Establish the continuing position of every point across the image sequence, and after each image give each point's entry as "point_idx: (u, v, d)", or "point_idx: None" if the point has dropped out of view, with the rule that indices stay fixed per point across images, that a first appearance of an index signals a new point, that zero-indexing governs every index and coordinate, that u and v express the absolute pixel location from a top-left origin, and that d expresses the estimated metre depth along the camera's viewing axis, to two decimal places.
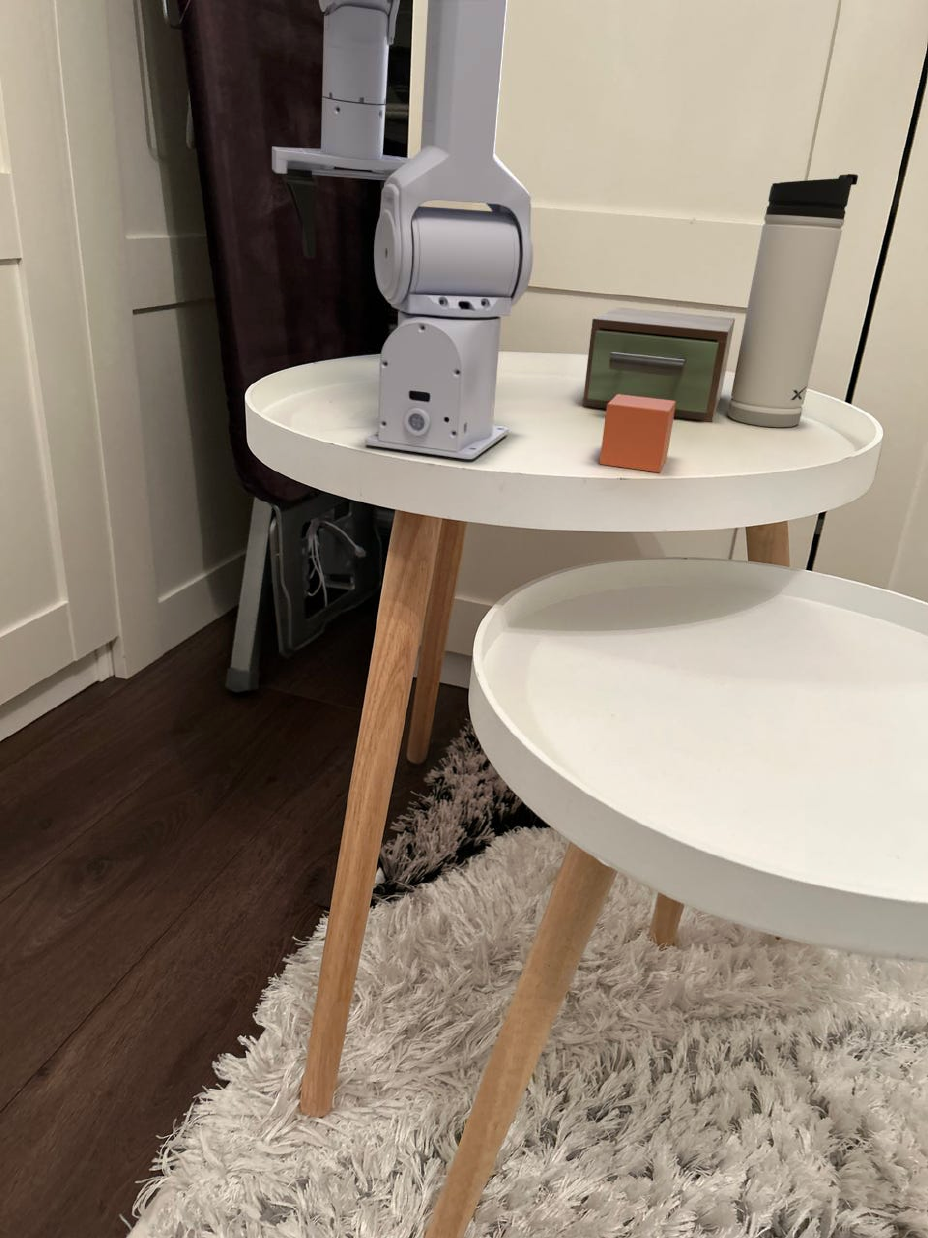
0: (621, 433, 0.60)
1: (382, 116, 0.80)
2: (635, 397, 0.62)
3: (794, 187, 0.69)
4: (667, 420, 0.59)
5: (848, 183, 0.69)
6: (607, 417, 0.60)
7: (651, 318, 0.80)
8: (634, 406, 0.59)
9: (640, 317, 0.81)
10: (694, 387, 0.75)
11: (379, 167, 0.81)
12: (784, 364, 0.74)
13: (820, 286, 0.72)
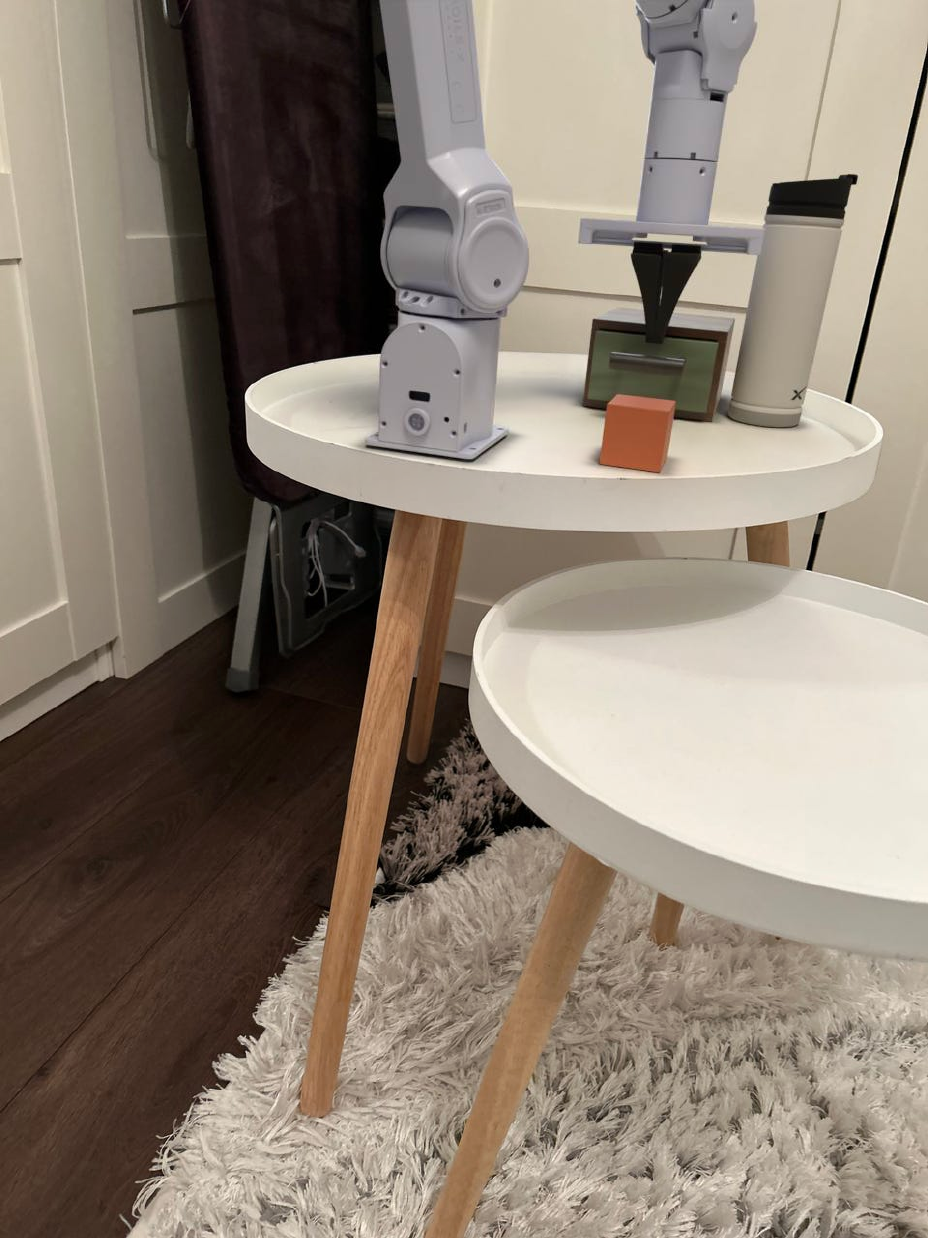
0: (621, 433, 0.60)
1: (706, 174, 0.67)
2: (635, 397, 0.62)
3: (794, 187, 0.69)
4: (667, 420, 0.59)
5: (848, 183, 0.69)
6: (607, 417, 0.60)
7: None
8: (634, 406, 0.59)
9: (640, 317, 0.81)
10: (694, 387, 0.75)
11: (693, 232, 0.68)
12: (784, 364, 0.74)
13: (820, 286, 0.72)
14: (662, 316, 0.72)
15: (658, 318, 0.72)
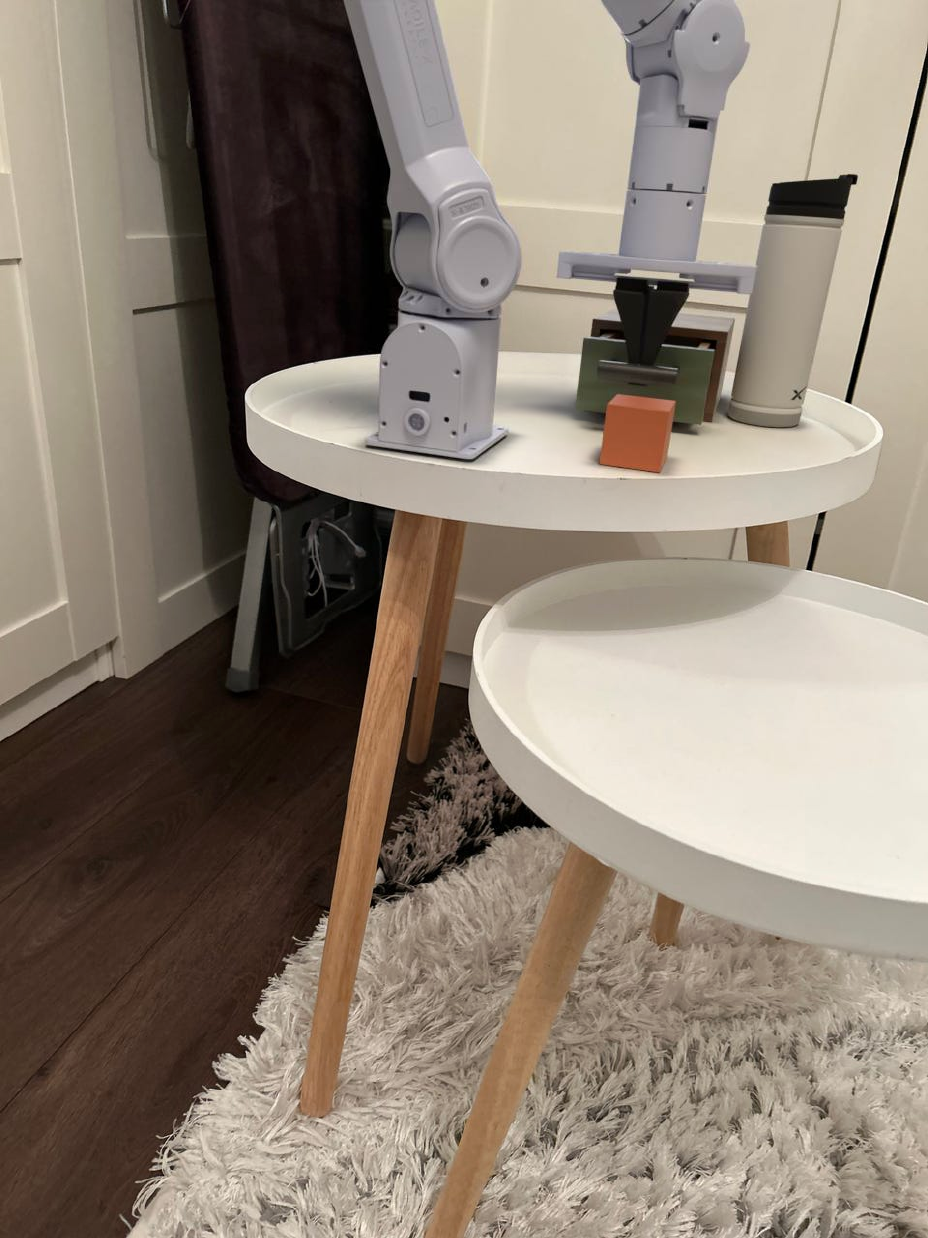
0: (621, 433, 0.60)
1: (693, 207, 0.62)
2: (635, 397, 0.62)
3: (794, 187, 0.69)
4: (667, 420, 0.59)
5: (848, 183, 0.69)
6: (607, 417, 0.60)
7: None
8: (634, 406, 0.59)
9: None
10: (689, 397, 0.71)
11: (679, 269, 0.63)
12: (784, 364, 0.74)
13: (820, 286, 0.72)
14: (646, 357, 0.67)
15: (642, 359, 0.67)
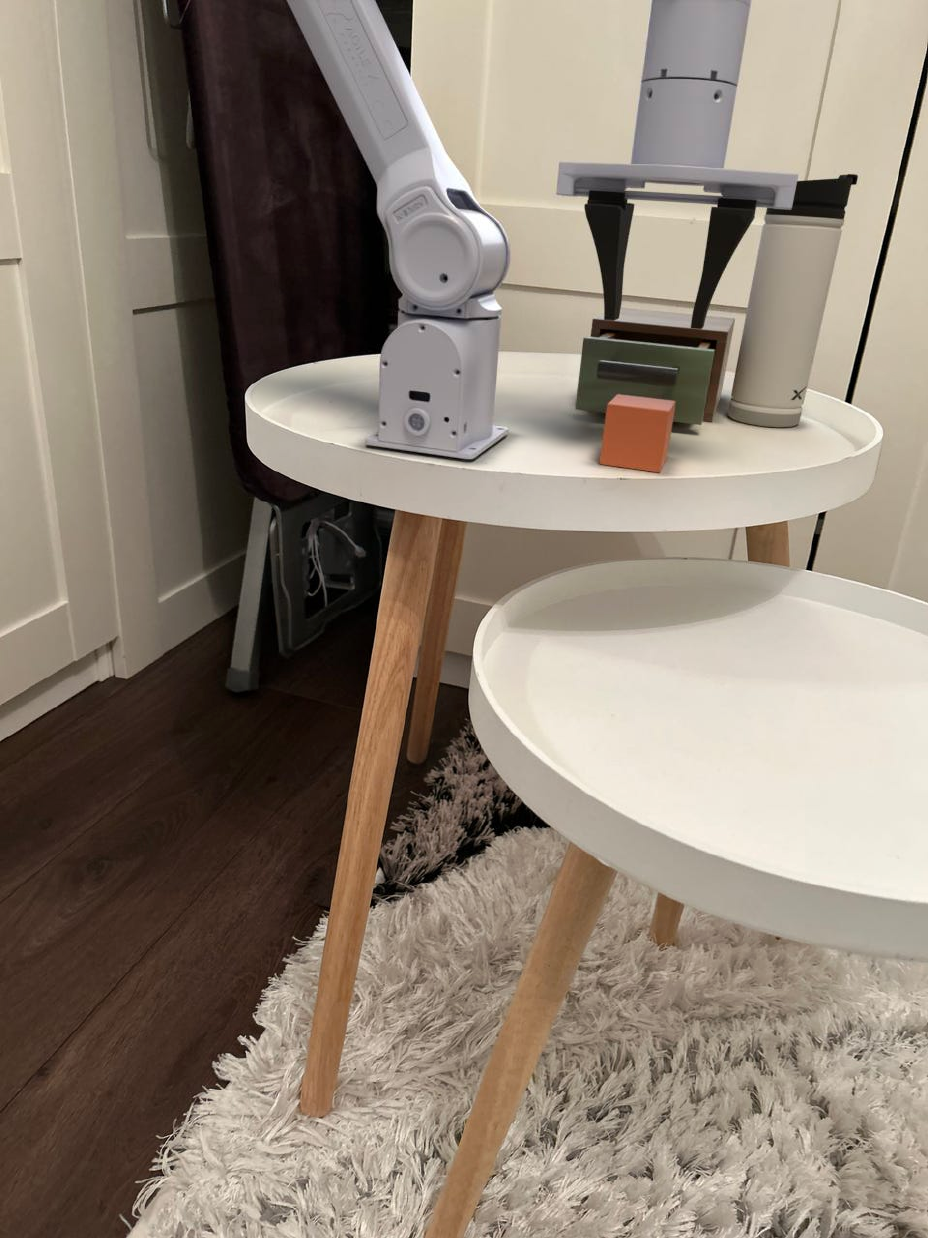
0: (621, 433, 0.60)
1: (722, 100, 0.51)
2: (635, 397, 0.62)
3: None
4: (667, 420, 0.59)
5: (848, 183, 0.69)
6: (607, 417, 0.60)
7: (651, 318, 0.80)
8: (634, 406, 0.59)
9: (640, 317, 0.81)
10: (689, 397, 0.71)
11: (704, 178, 0.52)
12: (784, 364, 0.74)
13: (820, 286, 0.72)
14: (703, 292, 0.56)
15: (698, 295, 0.56)
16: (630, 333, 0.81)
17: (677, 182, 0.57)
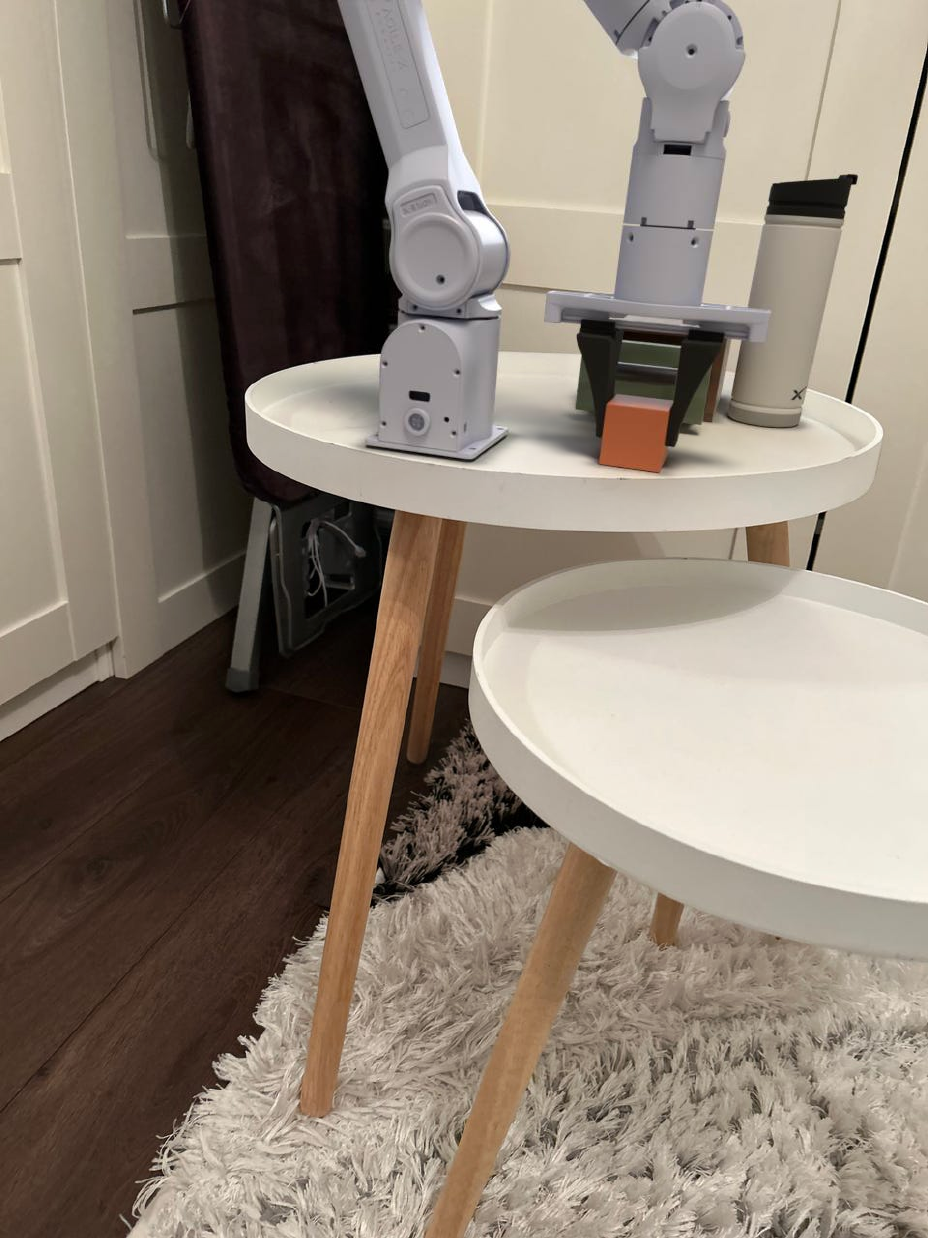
0: (620, 433, 0.60)
1: (699, 246, 0.54)
2: (634, 397, 0.62)
3: (794, 187, 0.69)
4: (666, 420, 0.59)
5: (848, 183, 0.69)
6: (606, 417, 0.60)
7: (651, 318, 0.80)
8: (633, 406, 0.59)
9: (640, 317, 0.81)
10: None
11: (682, 316, 0.55)
12: (784, 364, 0.74)
13: (820, 286, 0.72)
14: (676, 415, 0.59)
15: (671, 417, 0.59)
16: (630, 333, 0.81)
17: None
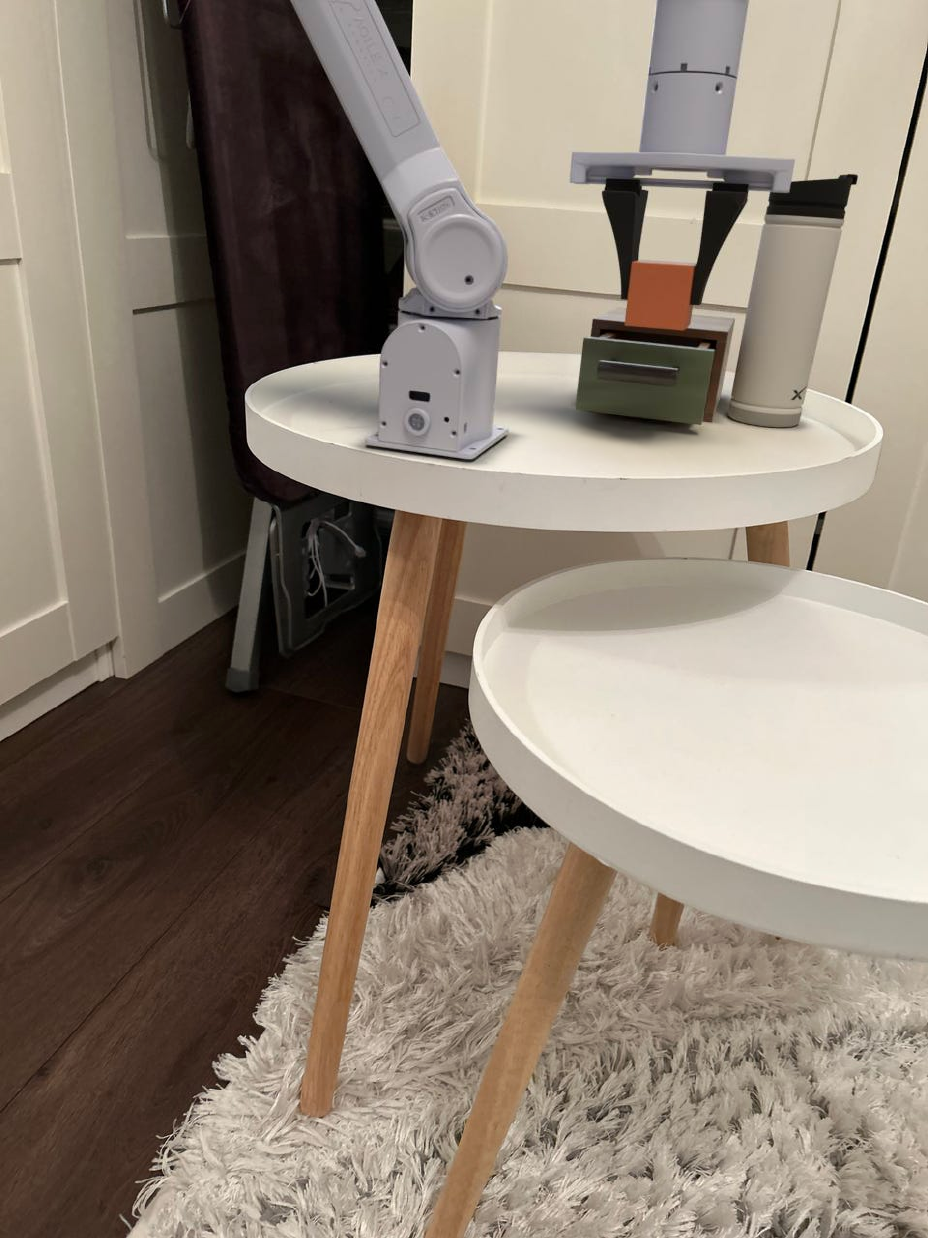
0: (645, 292, 0.61)
1: (723, 92, 0.55)
2: (659, 261, 0.63)
3: (794, 187, 0.69)
4: (691, 275, 0.59)
5: (848, 183, 0.69)
6: (632, 275, 0.61)
7: None
8: (658, 263, 0.60)
9: None
10: (689, 397, 0.71)
11: (707, 164, 0.56)
12: (784, 364, 0.74)
13: (820, 286, 0.72)
14: (700, 271, 0.60)
15: (695, 273, 0.60)
16: (630, 333, 0.81)
17: (682, 169, 0.61)
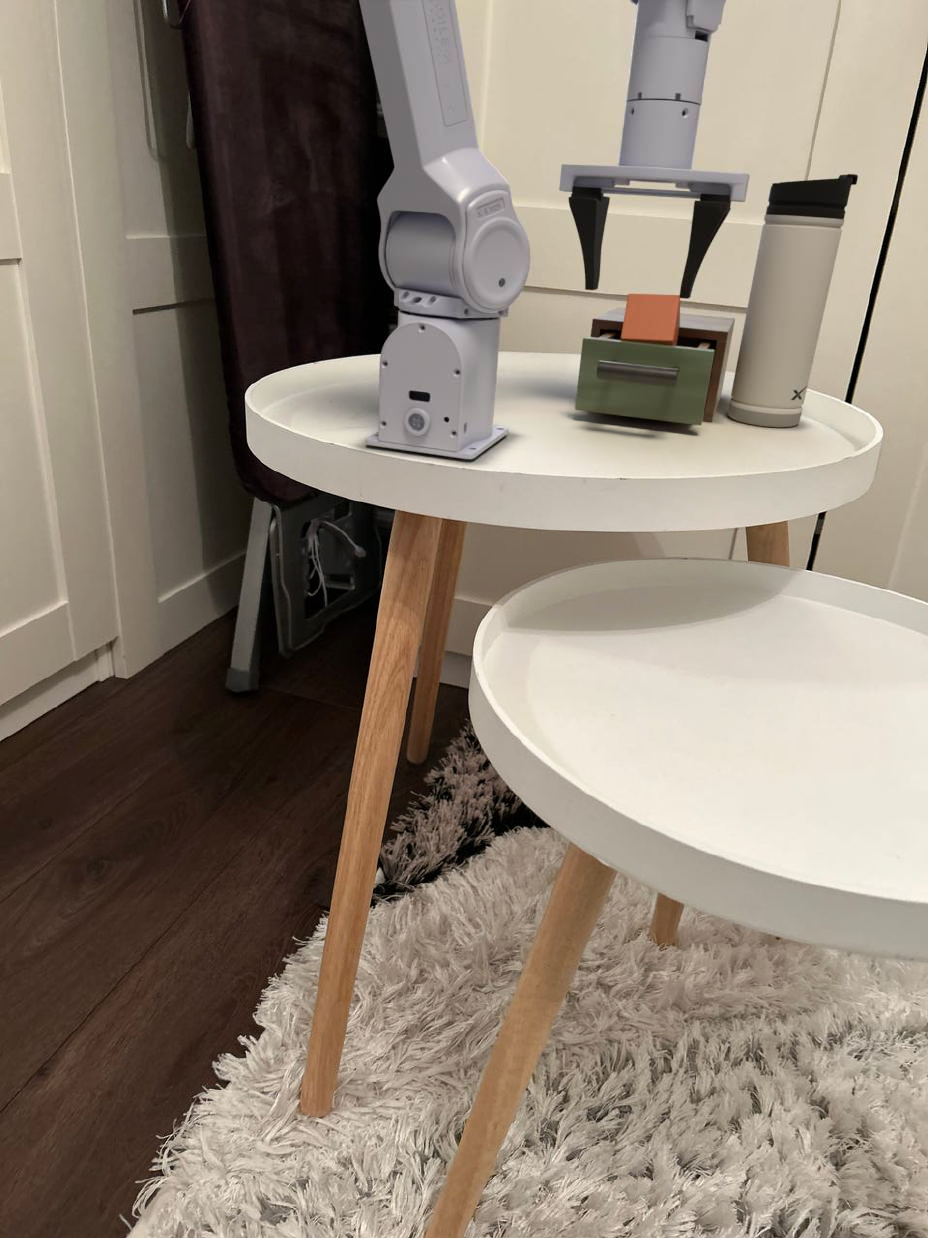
0: (639, 313, 0.71)
1: (688, 116, 0.66)
2: None
3: (794, 187, 0.69)
4: (678, 301, 0.71)
5: (848, 183, 0.69)
6: (628, 302, 0.72)
7: None
8: None
9: None
10: (688, 397, 0.70)
11: (675, 177, 0.67)
12: (784, 364, 0.74)
13: (820, 286, 0.72)
14: (689, 269, 0.70)
15: (685, 271, 0.70)
16: None
17: (656, 180, 0.71)
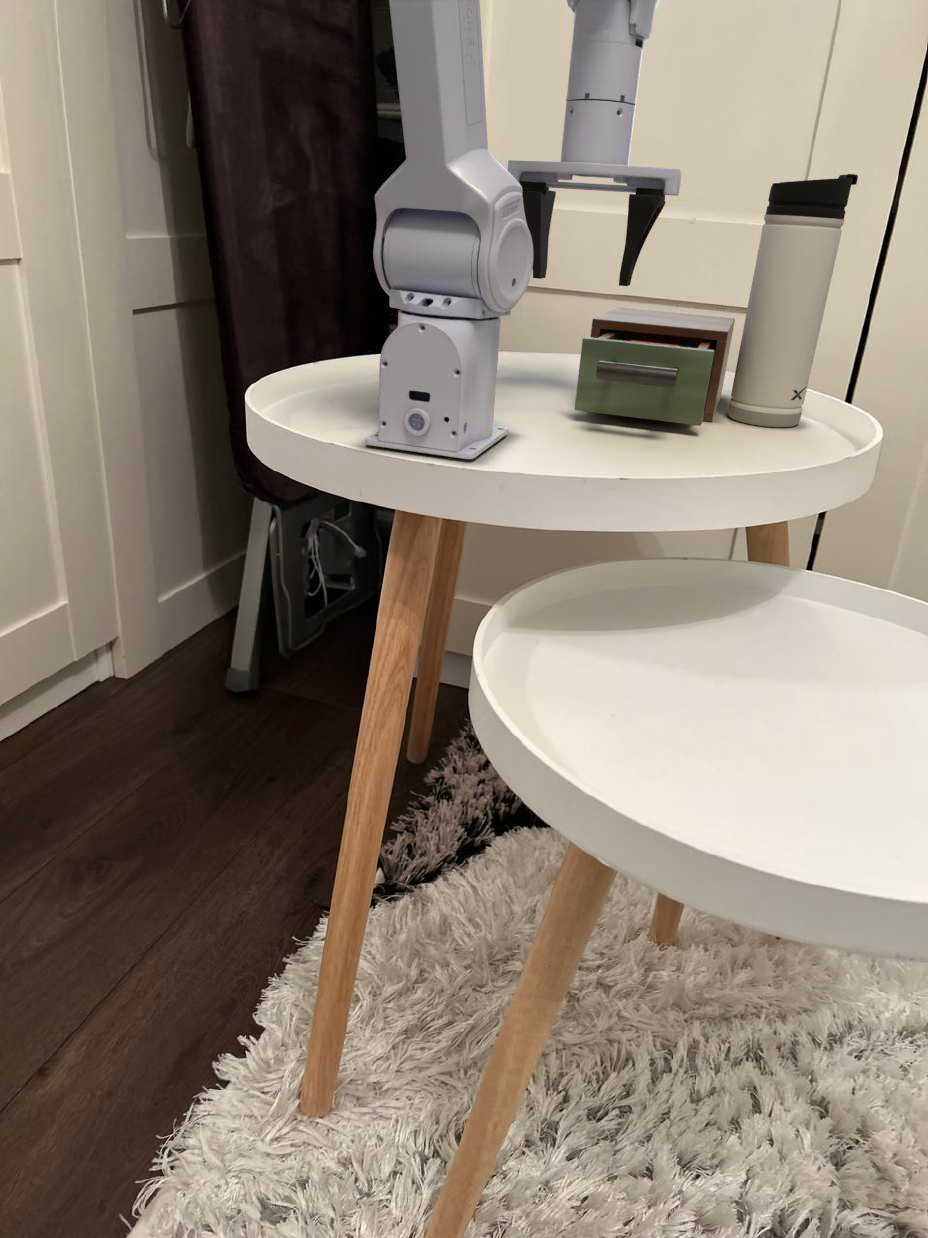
0: None
1: (623, 116, 0.70)
2: None
3: (794, 187, 0.69)
4: None
5: (848, 183, 0.69)
6: None
7: (651, 318, 0.80)
8: None
9: (640, 317, 0.81)
10: (688, 398, 0.70)
11: (611, 172, 0.72)
12: (784, 364, 0.74)
13: (820, 286, 0.72)
14: (627, 258, 0.75)
15: (623, 260, 0.75)
16: (630, 333, 0.81)
17: (597, 175, 0.76)
